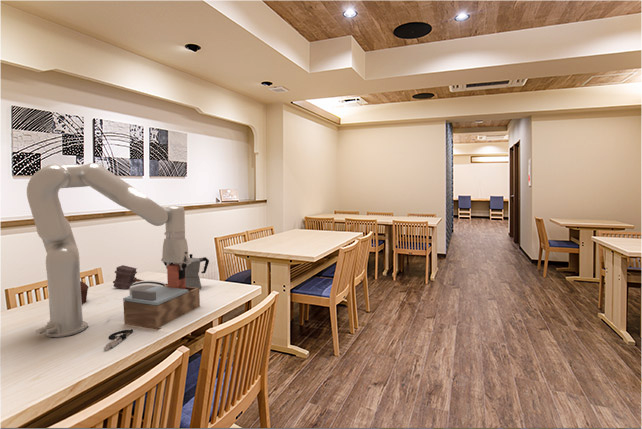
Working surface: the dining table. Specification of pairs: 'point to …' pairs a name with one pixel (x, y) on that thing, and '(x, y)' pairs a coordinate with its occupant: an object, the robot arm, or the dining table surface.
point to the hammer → (125, 277)
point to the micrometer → (117, 338)
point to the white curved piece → (145, 285)
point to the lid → (154, 295)
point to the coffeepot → (194, 271)
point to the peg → (175, 277)
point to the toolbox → (160, 310)
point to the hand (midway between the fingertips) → (176, 277)
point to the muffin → (83, 291)
